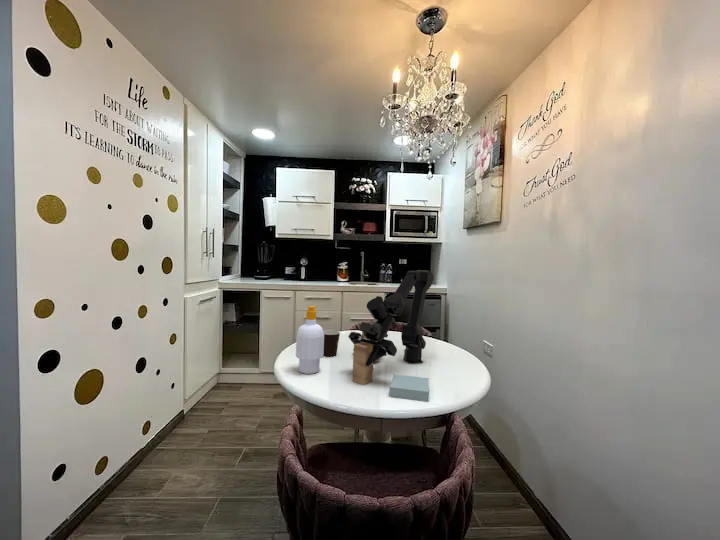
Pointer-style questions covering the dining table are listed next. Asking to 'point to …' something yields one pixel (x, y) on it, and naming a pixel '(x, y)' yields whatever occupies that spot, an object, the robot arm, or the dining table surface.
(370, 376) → the walnut column
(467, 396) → the dining table surface
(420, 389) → the slate base
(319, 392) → the dining table surface
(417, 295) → the robot arm
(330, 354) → the coffee mug
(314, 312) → the soap bottle
